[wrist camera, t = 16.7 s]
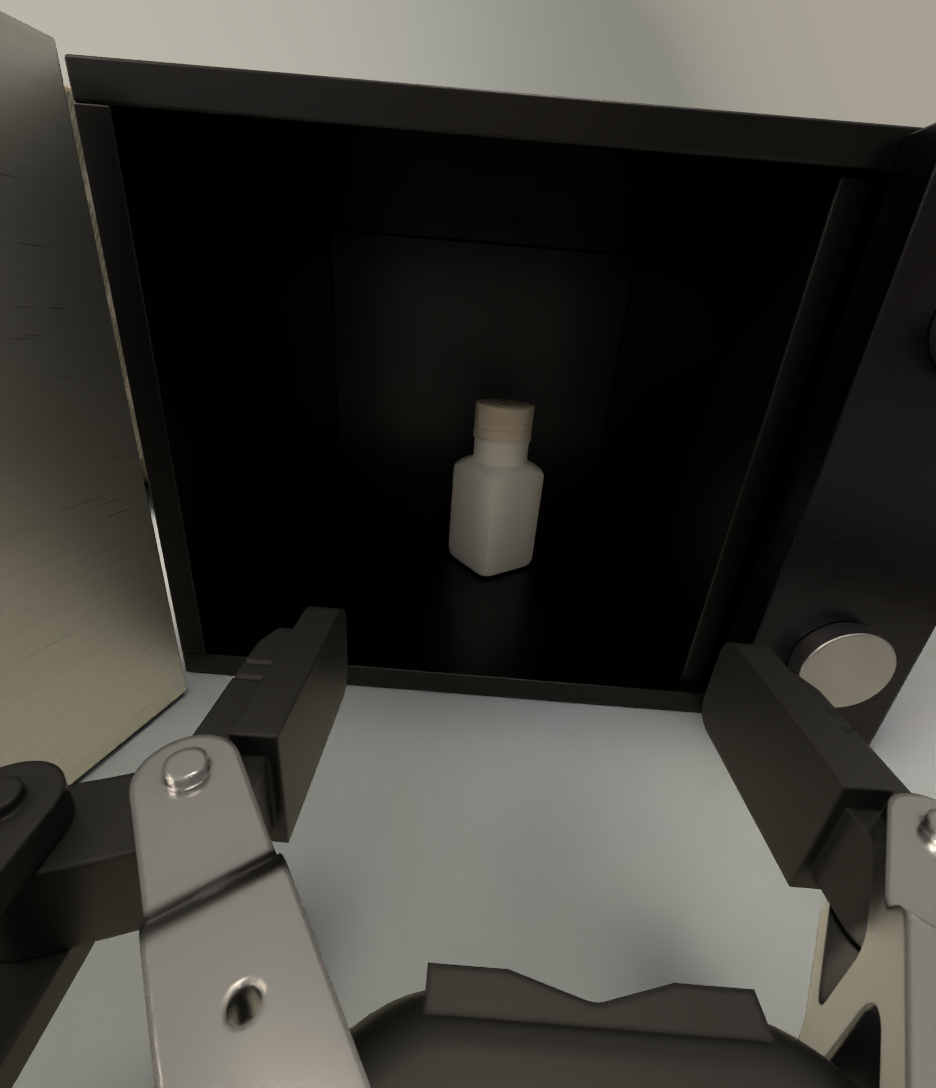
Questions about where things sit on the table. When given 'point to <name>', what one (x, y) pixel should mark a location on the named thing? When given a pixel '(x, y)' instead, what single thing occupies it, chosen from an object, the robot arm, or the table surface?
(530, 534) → the pepper shaker
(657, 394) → the microwave
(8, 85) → the microwave door
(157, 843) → the robot arm
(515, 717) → the table surface
